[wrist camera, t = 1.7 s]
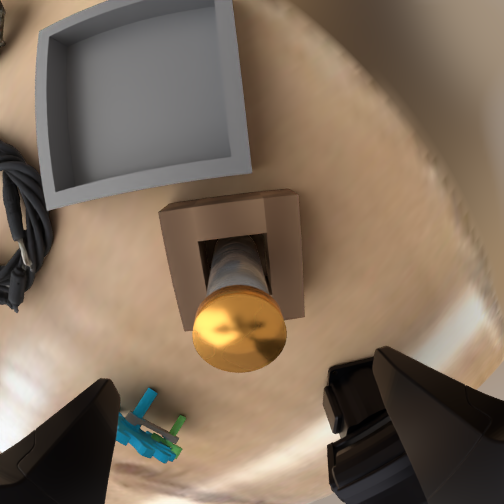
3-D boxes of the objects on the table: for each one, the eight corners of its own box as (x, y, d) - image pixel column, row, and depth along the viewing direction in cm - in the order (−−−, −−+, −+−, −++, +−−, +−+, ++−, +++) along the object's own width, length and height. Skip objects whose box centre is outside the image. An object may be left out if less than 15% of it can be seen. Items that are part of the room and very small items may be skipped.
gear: (70, 394, 22) (89, 437, 15) (99, 350, 25) (128, 376, 18) (150, 440, 27) (196, 482, 19) (175, 402, 30) (227, 433, 23)
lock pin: (258, 224, 20) (284, 290, 10) (263, 273, 21) (288, 366, 11) (205, 230, 20) (183, 302, 10) (213, 279, 21) (202, 376, 11)
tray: (228, -1, 14) (228, -26, 11) (248, 170, 18) (252, 173, 15) (62, 43, 14) (39, 31, 11) (72, 201, 18) (47, 210, 15)
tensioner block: (288, 188, 19) (298, 194, 16) (295, 296, 22) (304, 317, 19) (169, 203, 19) (158, 212, 16) (189, 309, 21) (184, 331, 19)
